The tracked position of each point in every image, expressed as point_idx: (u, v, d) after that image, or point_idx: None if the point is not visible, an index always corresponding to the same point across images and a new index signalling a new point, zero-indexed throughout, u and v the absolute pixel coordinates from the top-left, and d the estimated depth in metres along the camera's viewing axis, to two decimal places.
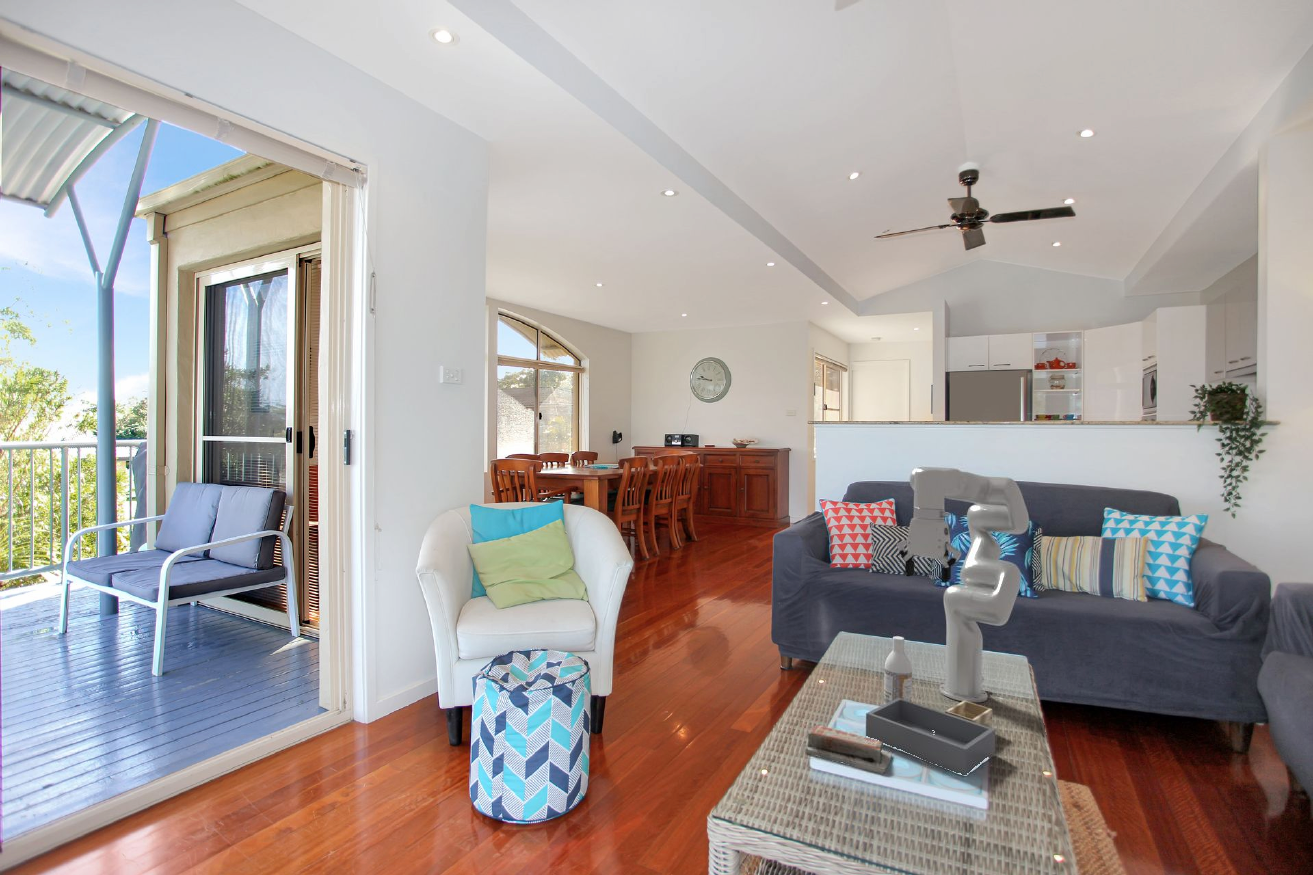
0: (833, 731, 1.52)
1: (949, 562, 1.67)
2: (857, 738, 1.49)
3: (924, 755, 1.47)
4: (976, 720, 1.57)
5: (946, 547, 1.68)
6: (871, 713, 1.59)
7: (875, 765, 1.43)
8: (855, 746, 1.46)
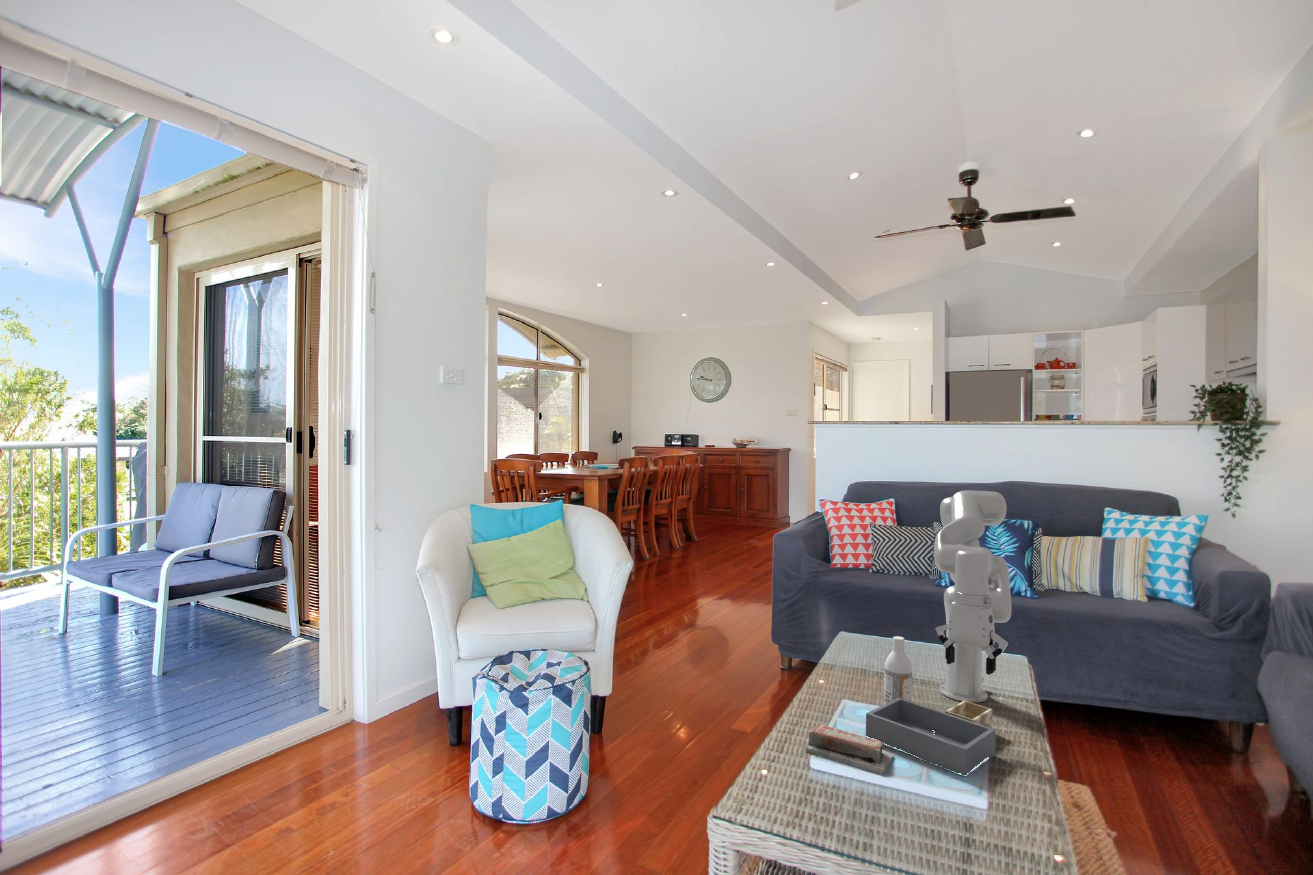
0: (835, 731, 1.52)
1: (994, 653, 1.57)
2: (858, 738, 1.49)
3: (924, 755, 1.47)
4: (976, 720, 1.57)
5: (991, 636, 1.58)
6: (871, 713, 1.59)
7: (874, 765, 1.42)
8: (855, 746, 1.46)
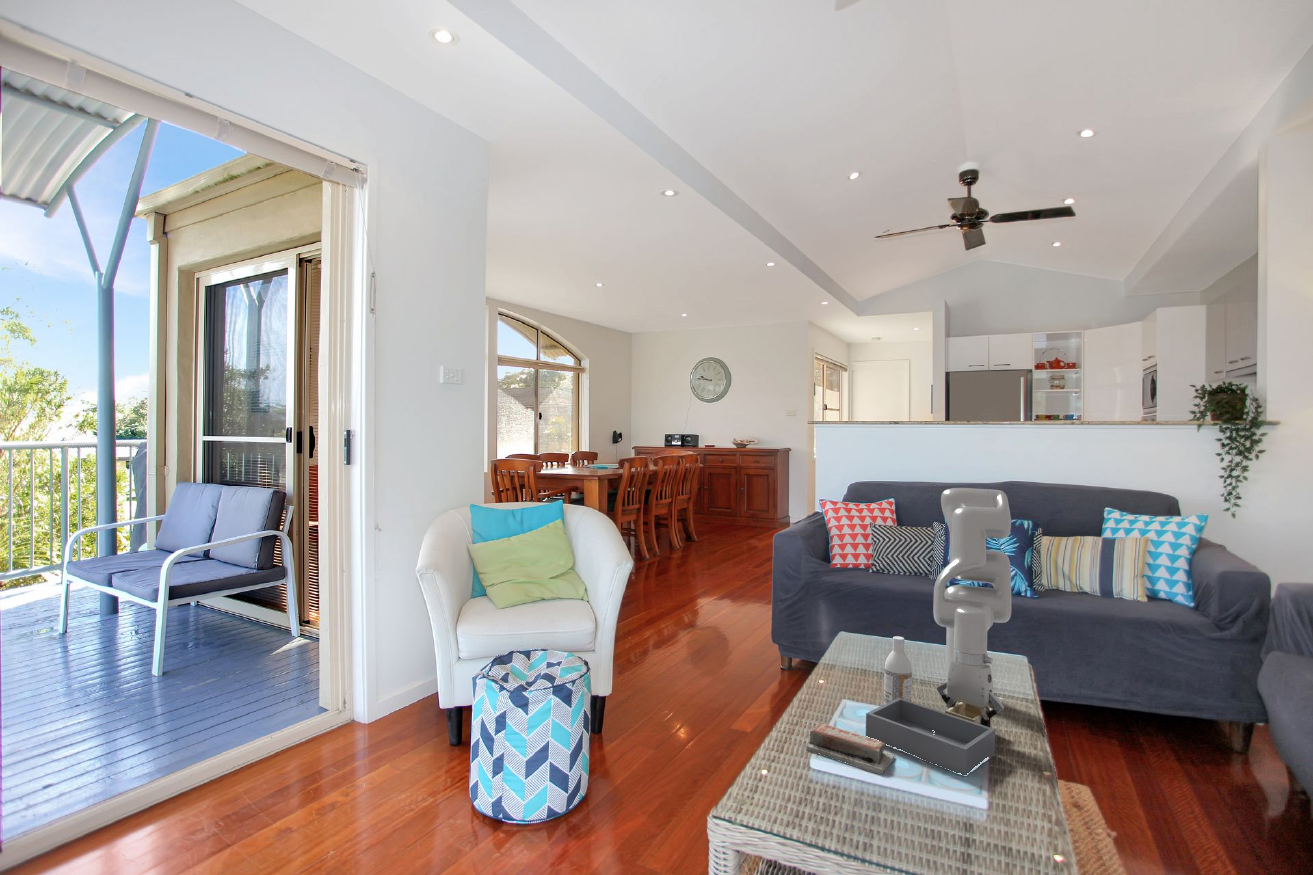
0: (836, 730, 1.53)
1: (989, 715, 1.58)
2: (858, 738, 1.49)
3: (924, 755, 1.47)
4: (976, 719, 1.57)
5: (990, 696, 1.58)
6: (871, 713, 1.59)
7: (873, 765, 1.42)
8: (855, 745, 1.46)
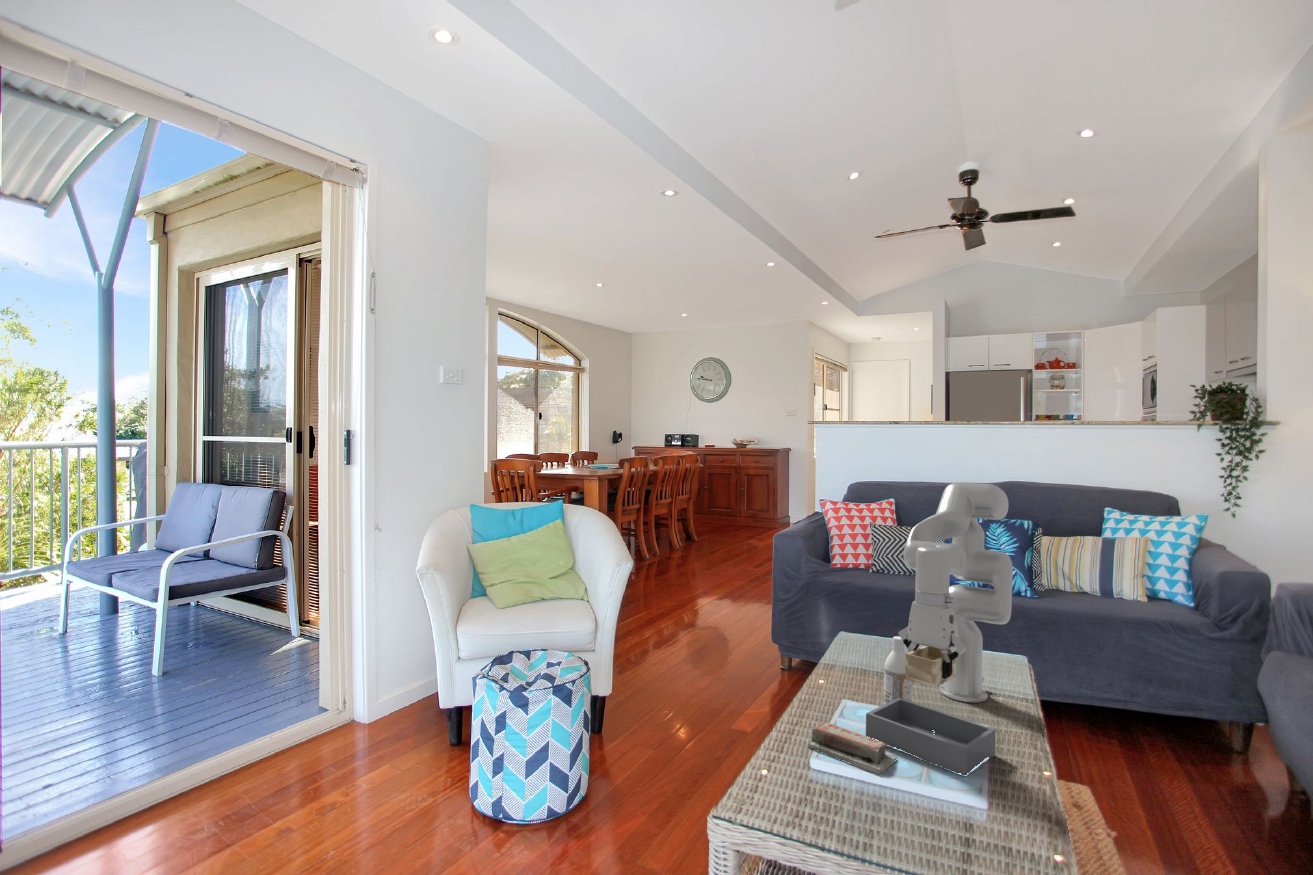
0: (839, 729, 1.53)
1: (951, 657, 1.50)
2: (860, 738, 1.49)
3: (924, 755, 1.47)
4: (937, 661, 1.50)
5: (951, 637, 1.51)
6: (871, 713, 1.59)
7: (872, 765, 1.42)
8: (855, 745, 1.47)
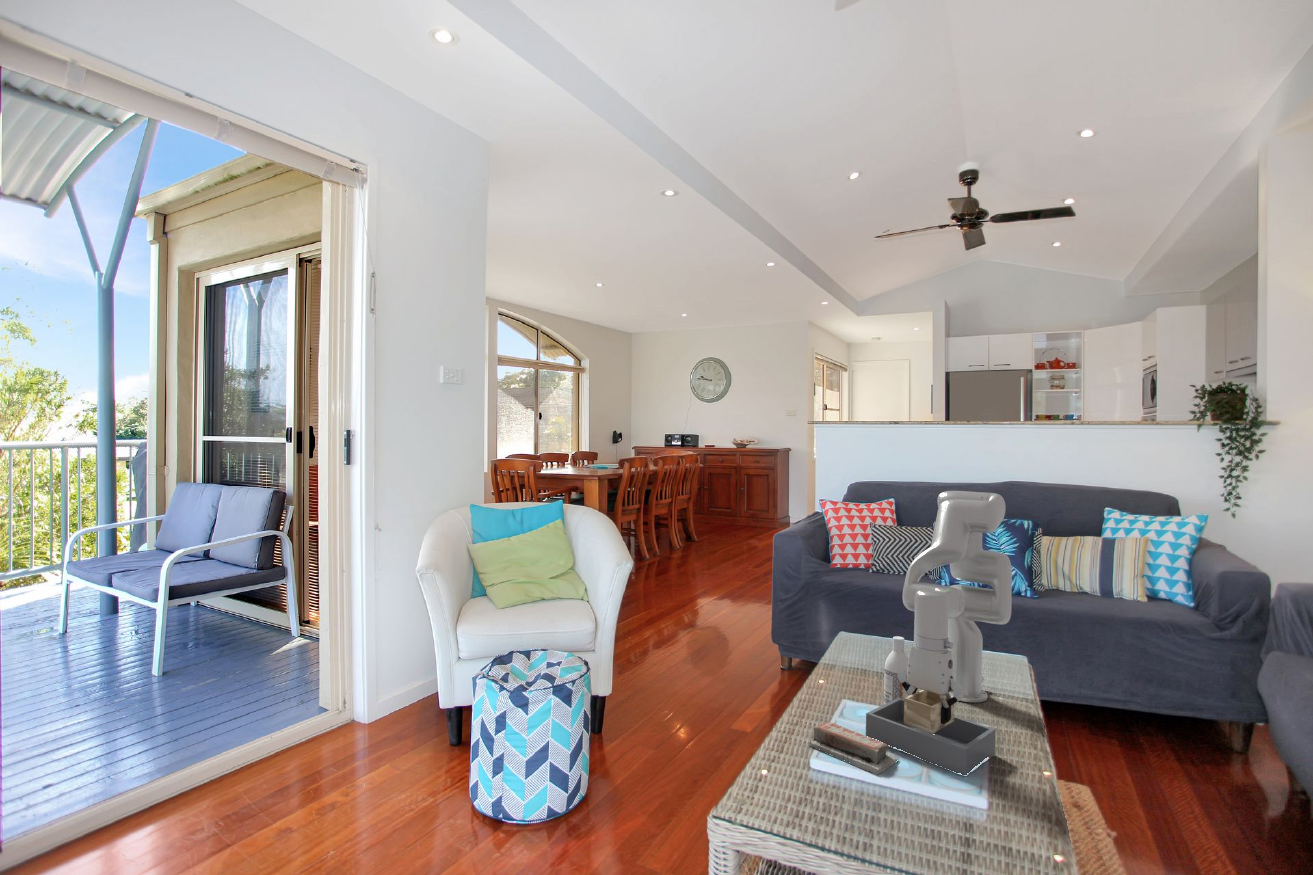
0: (840, 729, 1.53)
1: (950, 702, 1.50)
2: (860, 738, 1.49)
3: (924, 755, 1.47)
4: (936, 707, 1.49)
5: (950, 682, 1.50)
6: (871, 713, 1.59)
7: (871, 765, 1.42)
8: (855, 744, 1.47)
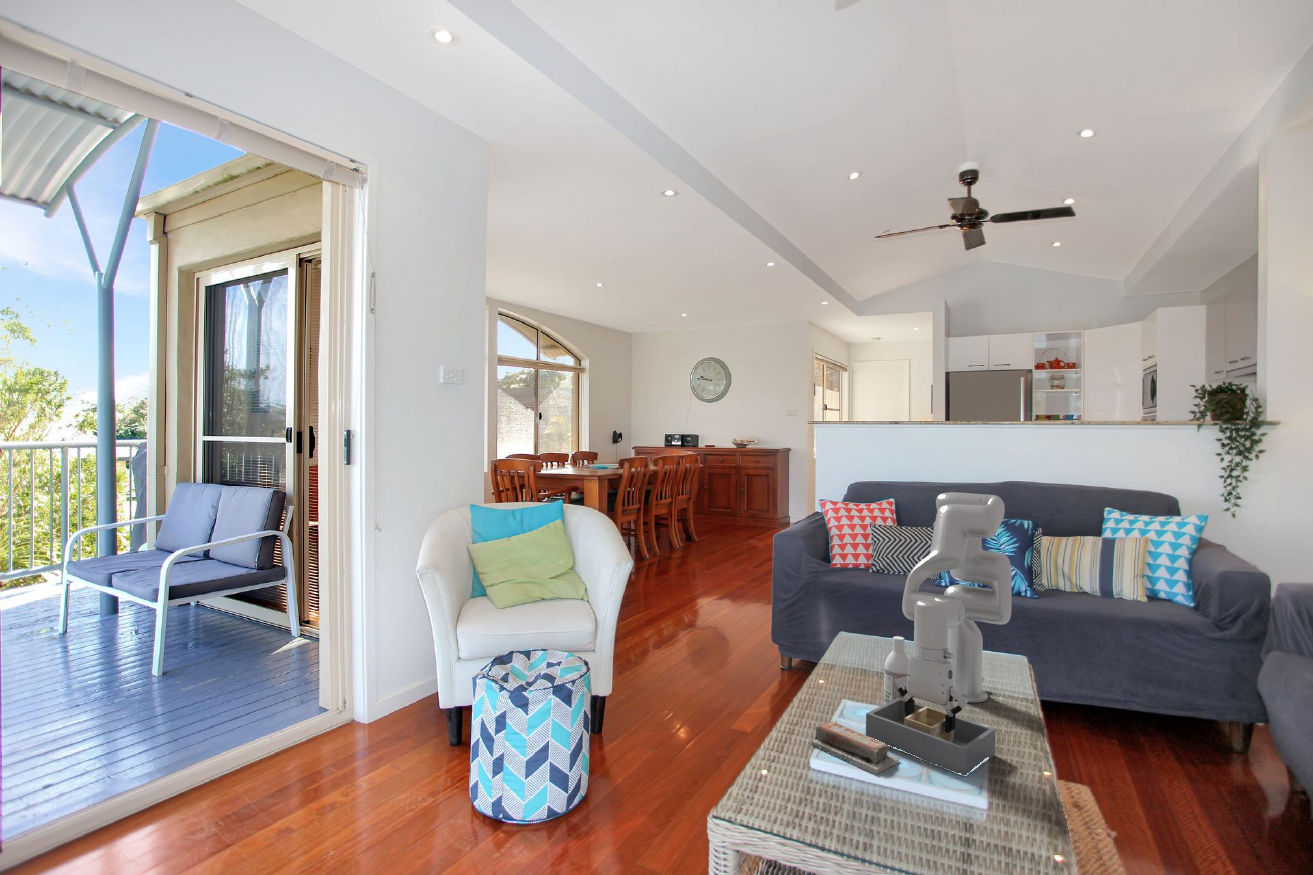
0: (842, 729, 1.54)
1: (954, 710, 1.50)
2: (861, 737, 1.49)
3: (924, 755, 1.47)
4: (936, 727, 1.50)
5: (950, 693, 1.51)
6: (871, 713, 1.59)
7: (870, 765, 1.42)
8: (855, 744, 1.47)
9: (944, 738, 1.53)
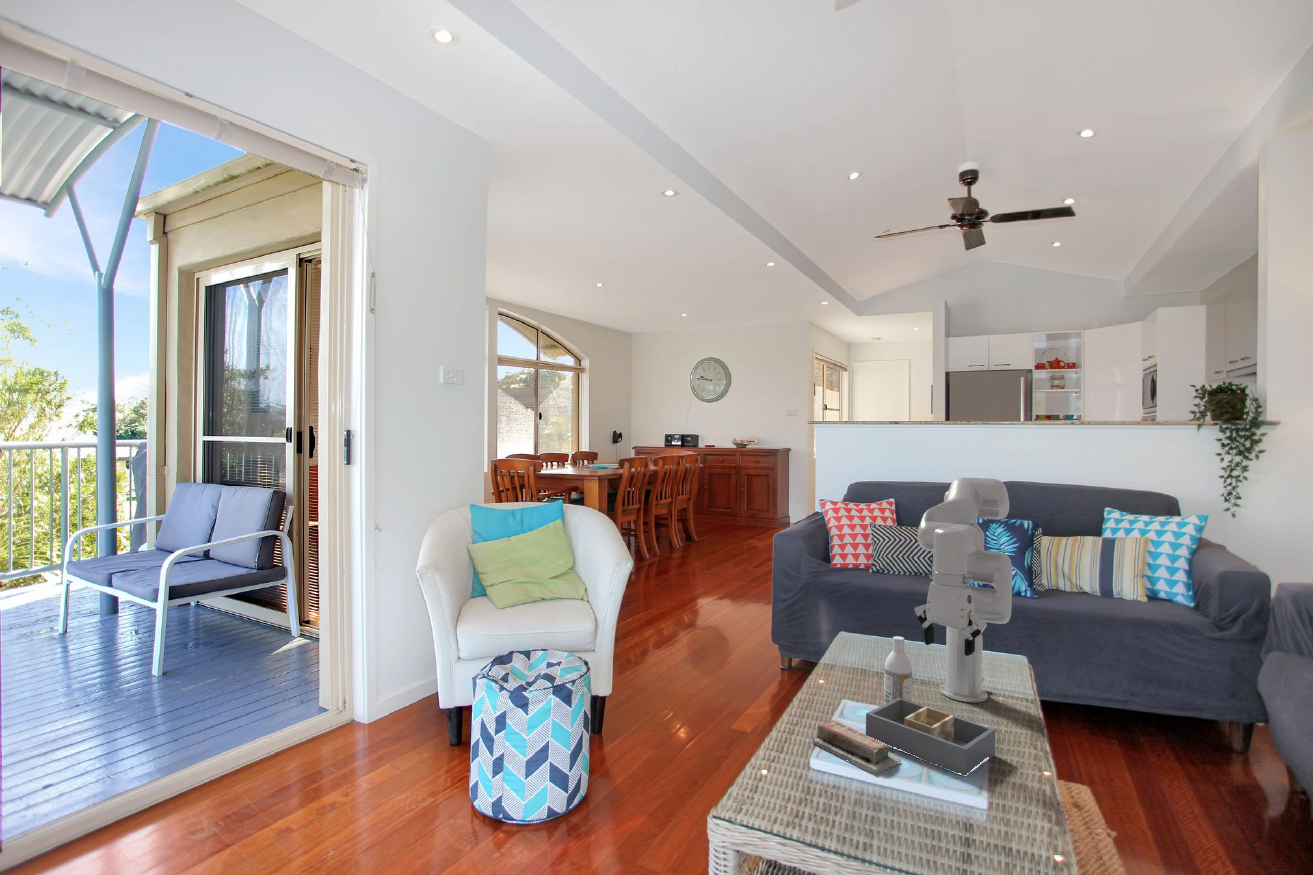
0: (844, 728, 1.54)
1: (973, 634, 1.52)
2: (862, 737, 1.49)
3: (924, 755, 1.47)
4: (936, 727, 1.50)
5: (970, 617, 1.52)
6: (871, 713, 1.59)
7: (868, 765, 1.43)
8: (855, 744, 1.47)
9: (944, 738, 1.53)
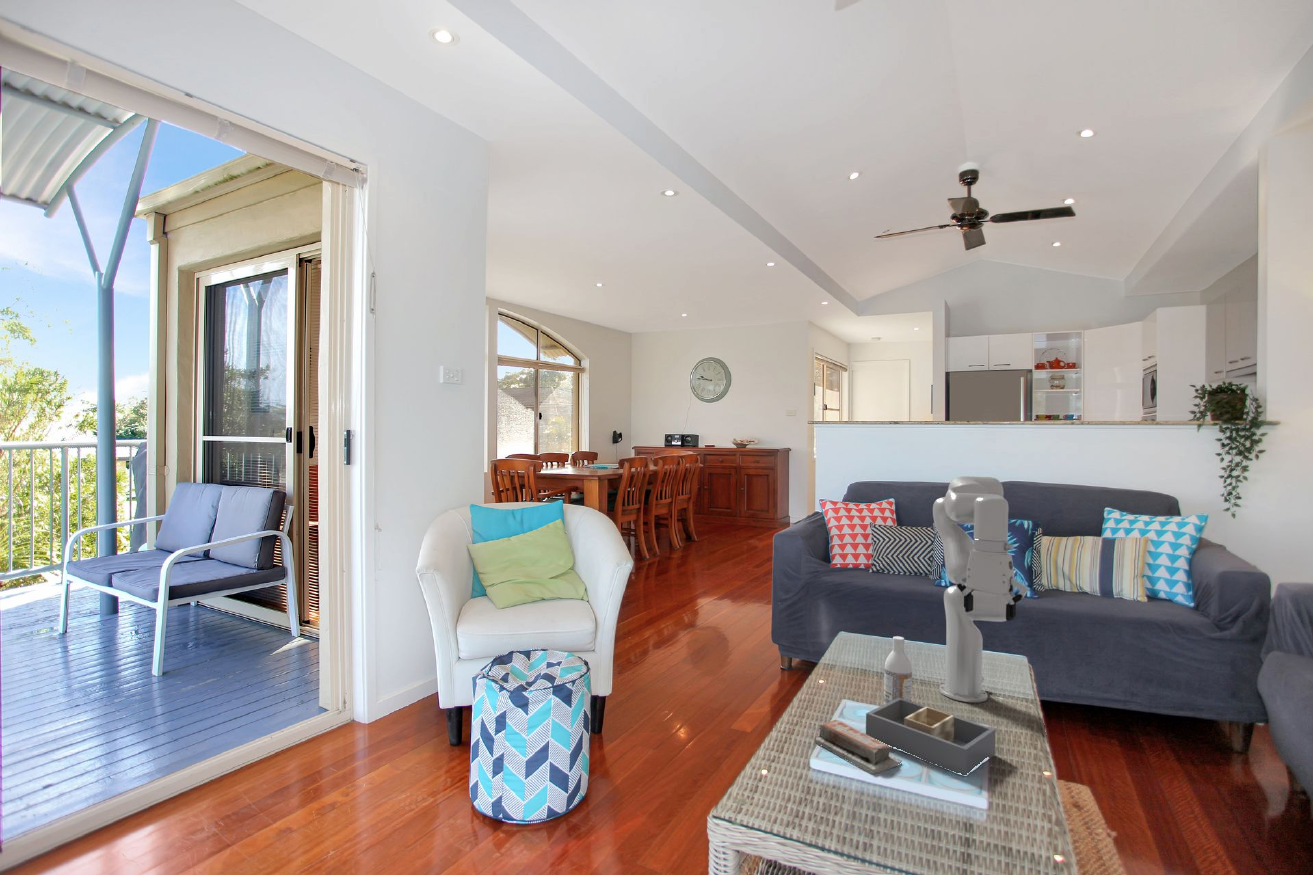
0: (846, 728, 1.54)
1: (1014, 598, 1.55)
2: (863, 737, 1.49)
3: (924, 755, 1.47)
4: (936, 727, 1.50)
5: (1011, 582, 1.56)
6: (871, 713, 1.59)
7: (867, 765, 1.43)
8: (855, 743, 1.47)
9: (944, 738, 1.53)
